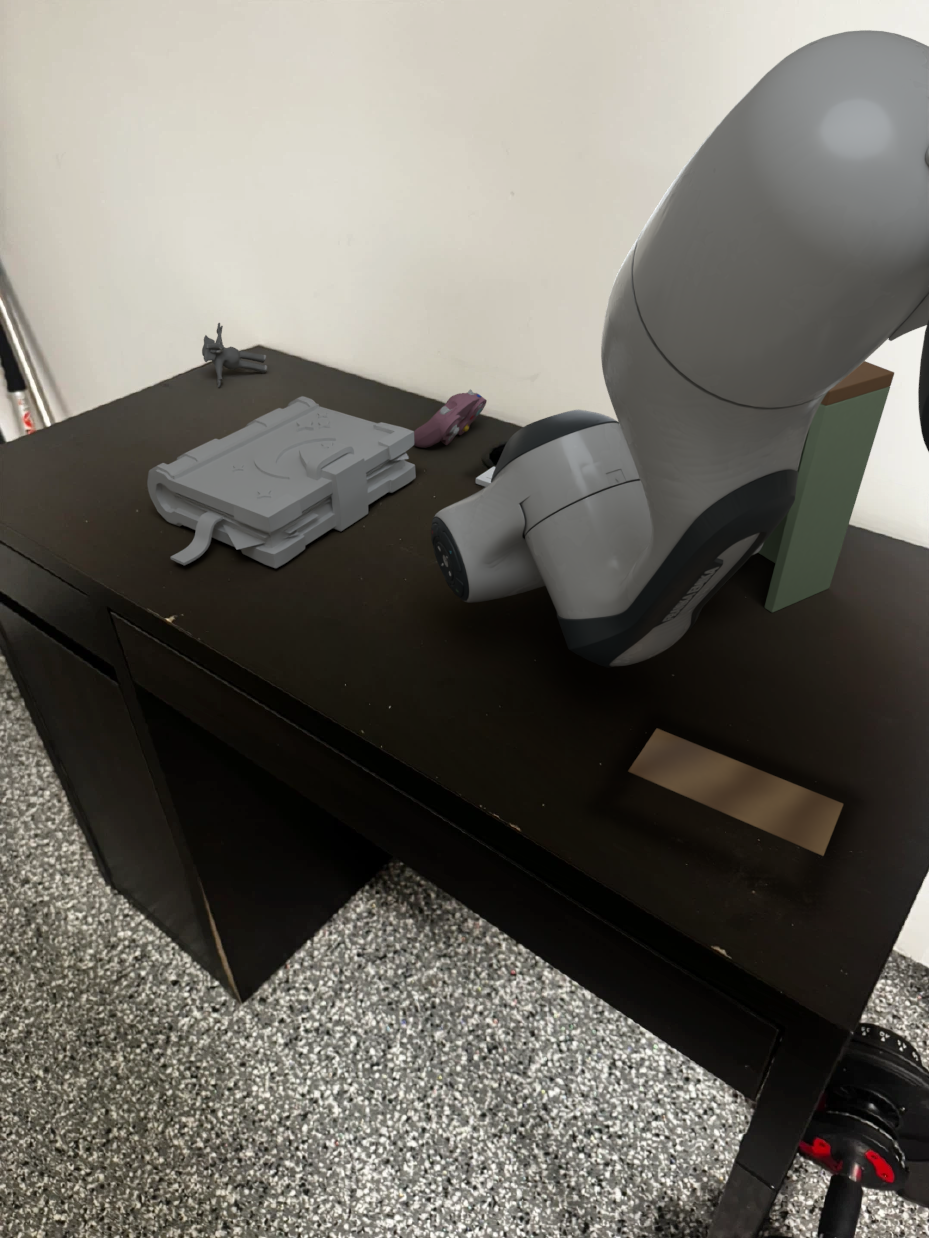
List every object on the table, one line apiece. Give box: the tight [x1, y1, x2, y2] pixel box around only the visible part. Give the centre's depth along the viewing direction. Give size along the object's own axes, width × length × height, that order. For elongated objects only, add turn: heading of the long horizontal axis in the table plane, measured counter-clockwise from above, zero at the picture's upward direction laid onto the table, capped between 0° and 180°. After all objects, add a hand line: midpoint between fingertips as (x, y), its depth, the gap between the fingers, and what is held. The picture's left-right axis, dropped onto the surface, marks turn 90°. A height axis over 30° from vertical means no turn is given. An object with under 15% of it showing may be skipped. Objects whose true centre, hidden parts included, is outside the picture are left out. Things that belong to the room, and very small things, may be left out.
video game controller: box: [413, 388, 487, 449], centre depth 108 cm, size 10×5×7 cm, turn 149°
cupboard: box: [757, 360, 895, 614], centre depth 82 cm, size 8×18×21 cm, turn 31°
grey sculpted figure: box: [201, 322, 268, 389], centre depth 125 cm, size 10×6×9 cm
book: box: [146, 395, 417, 569], centre depth 93 cm, size 19×28×8 cm
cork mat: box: [627, 728, 844, 857], centre depth 62 cm, size 14×10×1 cm
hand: (725, 470), depth 81 cm, fingers closed on syrup box, 6 cm apart
